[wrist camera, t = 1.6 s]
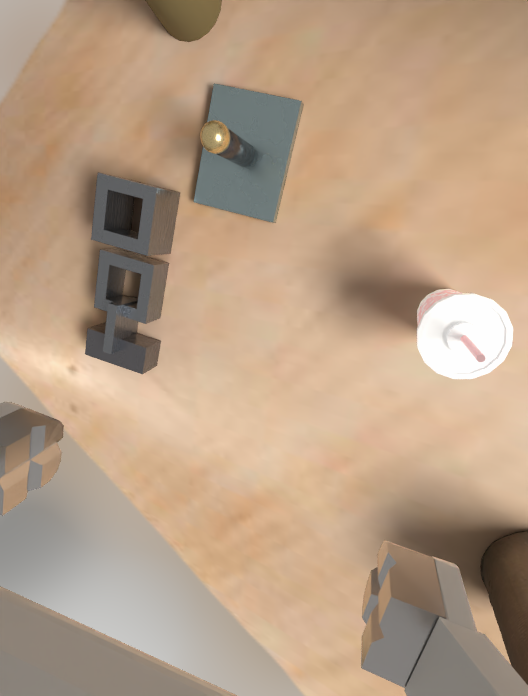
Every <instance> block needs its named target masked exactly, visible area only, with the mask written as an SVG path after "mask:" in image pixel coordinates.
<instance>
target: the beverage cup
mask: <svg viewBox="0 0 528 696" xmlns="http://www.w3.org/2000/svg"><path fill="white" fill-rule="evenodd" d="M417 323H418V327H417V347H418V349H419V352H420V354H421V356H422V358H423V360H424V362H425V363H426V364H427V365H428V366H429V367H431V368H432V369H433V370H434V371H435V372H436V373H438V374H441V375H444V376H446V377H449V378H452V379H473V378H476V377H479V376H482V375H484V374H487V373H490V372H491V371H492V370H493V369H495V368H496V367H497V366H498V365H499V364H501V363H502V362H503V361H504V359H505V358H506V356H507V354H508V352H509V350H510V348H511V346H512V339H513V326H512V324H511V322H510V319H509V317H508V315H507V312H506V311H505V310H504V309H502V308H501V307H500V306H499V305H498V304H497V303H496V302H494V301H493V300H492V299H489V298H486V297H483V296H480V295H477V294H474V293H461V292H458V291H455V290H452V289H439V290H436V291H434V292H432V293H430V294H428V295H427V296H426V297H425V298H424V299H423V300H422V301H421V303H420V305H419V307H418V310H417Z"/></svg>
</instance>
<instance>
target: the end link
mask: <svg viewBox="0 0 528 696" xmlns="http://www.w3.org/2000/svg"><path fill="white" fill-rule="evenodd" d="M135 197H138V198H142V199H143V204H142V211H141V219H140V226H139V232H135V231H132V230H131V224H132V216H133V208H134V200H135ZM179 197H180V193H179V192H176V191H172V190H168V189H164V188H160V187H156V186H152V185H148V184H144V183H140V182H136V181H132V180H128V179H124V178H120V177H115V176H111V175H106V174H102V173H98V175H97V185H96V196H95V206H94V217H93V227H92V237H91V240H95V241H98V242H102V243H105V244H109V245H112V246H116V247H119V248H122V249H126V250H129V251H133V252H136V253H140V254H143V255H147V256H151V255H162V254H171V247H172V241H173V235H174V229H175V222H176V216H177V210H178V204H179Z"/></svg>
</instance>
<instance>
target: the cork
mask: <svg viewBox="0 0 528 696" xmlns="http://www.w3.org/2000/svg"><path fill="white" fill-rule="evenodd" d="M146 2H147V3H148V5H149V6H150V8H151V9H152V10H153V12H154V13H155V15H156V16H157V18H158V19H159V21H160V22H161V24H162V25H163V26H164V28H165V29H166V30H167V31H168V33H169V34H170V35H171V36H173V37H174V38H176V39H178V40H180V41H187V42H191V41H194V40H198V39H200V38H202V37H203V36H204V35H206V34H207V33H208V32H209V31H210V30H211V28H212V27H213V26H214V25H215V23H216V21H217V18H218V16H219V13H220V9H221V2H222V0H146Z"/></svg>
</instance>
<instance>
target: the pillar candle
mask: <svg viewBox="0 0 528 696" xmlns="http://www.w3.org/2000/svg"><path fill="white" fill-rule="evenodd" d="M481 576H482V580H483V582H484V584H485V586H486V588H487V590H488V593H489V599H490V602H491V605H492V607H493V610H494V614H495V617H496V620H497V623H498V625H499V628H500V631H501V634H502V638H503V641H504V644H505V647H506V650H507V654H508V656H509V659H510V662H511V665H512V667H513V668H514V670H515V671H516V672H517V673H518V674H519V675H520V677H521V678H522V679H523V680H524V681H525V683H526V684H527V685H528V532H527V531H525V532H519V533H515V534H512V535H509V536H506V537H503V538H501V539H499V540H497V541H495V542H494V543H493V544H492V545H491V546H490V547H488V549H487V550H486V552H485V553H484V557H483V558H482V561H481Z"/></svg>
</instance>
